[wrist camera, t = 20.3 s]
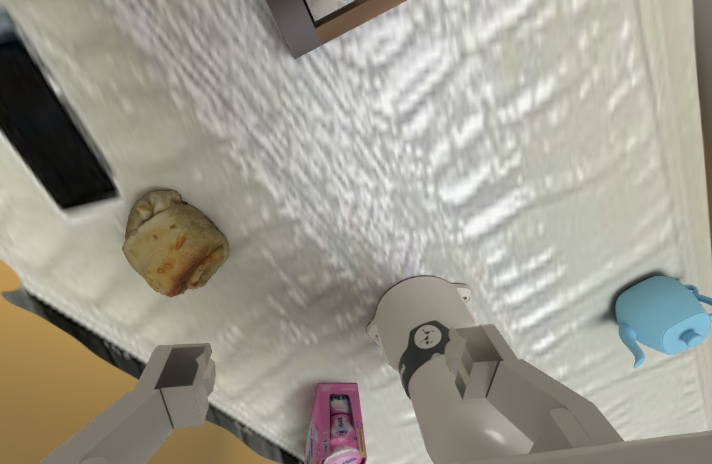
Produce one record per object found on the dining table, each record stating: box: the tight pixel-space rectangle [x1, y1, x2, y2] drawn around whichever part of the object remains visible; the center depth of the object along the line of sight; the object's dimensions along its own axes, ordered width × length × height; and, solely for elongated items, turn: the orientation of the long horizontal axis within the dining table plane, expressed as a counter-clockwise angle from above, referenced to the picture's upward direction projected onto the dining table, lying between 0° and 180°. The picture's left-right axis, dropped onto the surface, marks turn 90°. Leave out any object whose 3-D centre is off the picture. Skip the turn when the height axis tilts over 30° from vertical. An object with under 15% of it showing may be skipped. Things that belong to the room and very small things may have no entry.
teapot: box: [615, 276, 712, 368], centre depth 60 cm, size 13×11×18 cm
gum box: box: [305, 383, 367, 464], centre depth 63 cm, size 24×8×14 cm, turn 169°
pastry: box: [122, 190, 229, 297], centre depth 42 cm, size 14×12×8 cm
